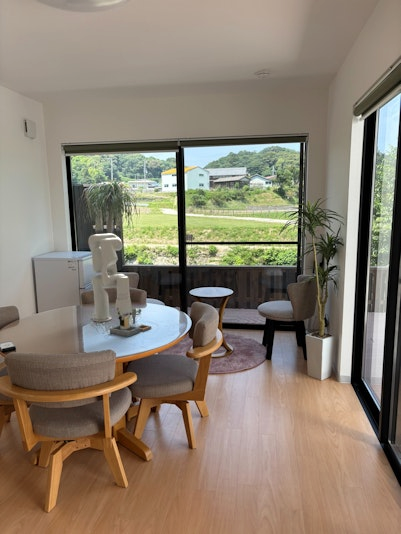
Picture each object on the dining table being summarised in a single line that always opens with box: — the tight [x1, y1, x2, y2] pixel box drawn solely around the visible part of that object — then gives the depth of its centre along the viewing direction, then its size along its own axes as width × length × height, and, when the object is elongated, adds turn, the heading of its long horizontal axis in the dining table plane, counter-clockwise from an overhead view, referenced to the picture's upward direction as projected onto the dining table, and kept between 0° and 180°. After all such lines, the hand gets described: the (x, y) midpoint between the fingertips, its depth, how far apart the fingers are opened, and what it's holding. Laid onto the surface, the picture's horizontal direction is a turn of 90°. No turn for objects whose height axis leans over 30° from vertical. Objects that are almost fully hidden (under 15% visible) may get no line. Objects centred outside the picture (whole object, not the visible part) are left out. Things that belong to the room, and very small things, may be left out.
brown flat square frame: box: [136, 324, 152, 333], centre depth 257 cm, size 8×8×2 cm
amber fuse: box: [120, 315, 131, 329], centre depth 250 cm, size 4×4×8 cm
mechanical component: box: [130, 307, 142, 325], centre depth 270 cm, size 3×10×10 cm, turn 79°
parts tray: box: [109, 324, 141, 338], centre depth 250 cm, size 15×11×3 cm
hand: (124, 324), depth 250 cm, fingers closed on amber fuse, 4 cm apart
